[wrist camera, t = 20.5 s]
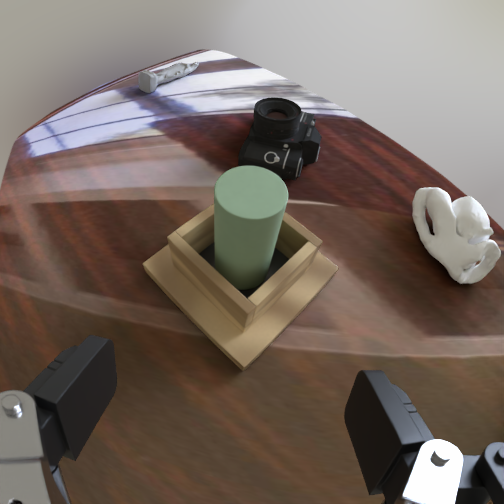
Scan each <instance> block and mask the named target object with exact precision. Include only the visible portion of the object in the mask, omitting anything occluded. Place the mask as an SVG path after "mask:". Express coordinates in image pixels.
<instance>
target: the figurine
mask: <svg viewBox="0 0 504 504" xmlns="http://www.w3.org/2000/svg"><path fill="white" fill-rule="evenodd" d="M198 65H199V63H198V62H195V63H193V64H192V65H190V64H184V63H178V64H174V65H172V66H170V67H168V68H165V69H164V70H163V71H161V72H160V73H157V74H155V73H153V72H150V71H147V70H144V71H143V72H140V73H139V88H140V90H142V91H144V92H146V93H151V92H154V91H155V90H156V87H157V85H158V84H161V83H165V82H170V81H171V80H173V79H176V78H180V77H184V76H185V75H187V74H189V73H191V72H193V71H194V70H195V69H196V68H197V67H198Z"/></svg>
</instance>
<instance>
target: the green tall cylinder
mask: <svg viewBox="0 0 504 504" xmlns="http://www.w3.org/2000/svg"><path fill="white" fill-rule="evenodd" d="M287 201H288V190H287V187H286V185H285V183H284V182H283V180H282V179H281V178H280V177H279V176H278V175H276V174H275V173H273V172H272V171H270V170H267V169H265V168H262V167H257V166H240V167H235V168H232V169H230V170H228V171H226V172H225V173H223V174H222V175H221V176H220V177H219V179H218V180H217V182H216V184H215V188H214V242H215V270H216V271H218V272H219V273H220V274H221V275H222V276H223V277H224V278H225V279H226V280H227V281H228V282H229V283H231V284H232V285H233V286H234V287H235V288H236V289H238V290H247V289H251V288H254V287H256V286H258V285H259V284H261V283H262V282H263V281H264V279H265V278H266V276H267V273H268V270H269V266H270V263H271V259H272V256H273V252H274V248H275V245H276V241H277V237H278V234H279V230H280V227H281V223H282V219H283V216H284V212H285V208H286V204H287Z"/></svg>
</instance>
